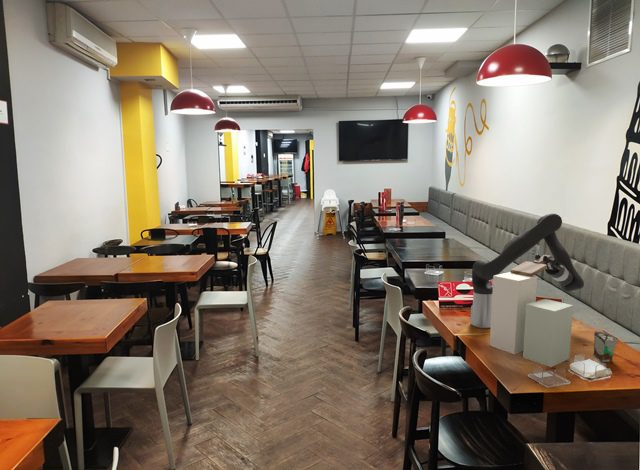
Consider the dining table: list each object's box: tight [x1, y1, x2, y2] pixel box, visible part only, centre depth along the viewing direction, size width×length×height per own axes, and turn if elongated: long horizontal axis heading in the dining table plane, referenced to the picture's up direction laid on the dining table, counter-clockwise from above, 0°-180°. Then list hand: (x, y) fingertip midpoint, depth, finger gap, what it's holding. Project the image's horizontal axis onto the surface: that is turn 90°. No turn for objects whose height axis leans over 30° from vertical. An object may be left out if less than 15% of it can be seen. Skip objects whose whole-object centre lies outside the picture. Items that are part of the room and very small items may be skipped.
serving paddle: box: [510, 254, 553, 277], centre depth 210 cm, size 10×22×2 cm, turn 124°
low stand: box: [522, 298, 574, 368], centre depth 192 cm, size 12×14×23 cm
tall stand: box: [489, 271, 538, 355], centre depth 204 cm, size 12×14×32 cm
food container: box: [593, 330, 618, 365], centre depth 192 cm, size 12×6×10 cm, turn 168°
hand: (540, 256), depth 212 cm, fingers closed on serving paddle, 3 cm apart
